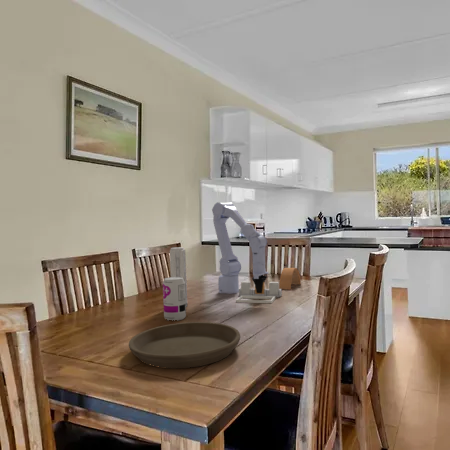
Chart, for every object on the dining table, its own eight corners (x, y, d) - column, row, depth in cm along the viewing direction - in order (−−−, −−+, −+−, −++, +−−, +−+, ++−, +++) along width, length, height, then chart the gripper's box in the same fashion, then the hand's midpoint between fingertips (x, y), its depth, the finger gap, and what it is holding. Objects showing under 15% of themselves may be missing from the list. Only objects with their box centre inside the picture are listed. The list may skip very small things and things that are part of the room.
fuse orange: (255, 295, 182) (254, 282, 182) (256, 294, 184) (256, 281, 184) (263, 295, 181) (263, 282, 181) (265, 294, 183) (264, 281, 183)
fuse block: (237, 298, 182) (237, 290, 182) (241, 295, 189) (241, 287, 189) (280, 299, 176) (279, 291, 176) (282, 296, 183) (282, 288, 183)
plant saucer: (105, 366, 104) (104, 348, 104) (164, 332, 133) (163, 318, 133) (216, 379, 93) (215, 359, 93) (254, 339, 122) (254, 324, 122)
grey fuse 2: (269, 296, 180) (268, 282, 180) (270, 294, 182) (270, 281, 182) (278, 296, 179) (277, 282, 179) (279, 295, 181) (278, 281, 181)
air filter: (190, 305, 170) (187, 246, 170) (182, 309, 165) (179, 248, 164) (177, 304, 173) (174, 246, 173) (168, 308, 167) (166, 248, 167)
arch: (301, 284, 212) (300, 265, 212) (290, 291, 194) (289, 270, 194) (290, 284, 214) (289, 265, 214) (279, 291, 196) (278, 270, 196)
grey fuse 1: (241, 295, 184) (240, 282, 184) (242, 294, 186) (242, 281, 186) (249, 295, 183) (249, 282, 183) (251, 294, 185) (250, 281, 185)
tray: (236, 304, 170) (235, 299, 170) (241, 299, 179) (241, 295, 179) (271, 305, 165) (271, 300, 165) (275, 300, 174) (275, 296, 174)
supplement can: (168, 322, 144) (166, 280, 144) (161, 317, 152) (159, 278, 151) (189, 319, 148) (187, 278, 148) (181, 314, 155) (179, 275, 155)
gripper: (264, 264, 174) (265, 295, 174) (270, 260, 188) (271, 289, 188) (248, 264, 176) (249, 295, 177) (255, 260, 190) (256, 289, 190)
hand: (260, 292), depth 183 cm, fingers closed on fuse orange, 2 cm apart
